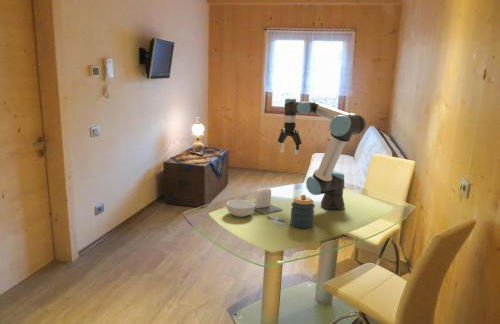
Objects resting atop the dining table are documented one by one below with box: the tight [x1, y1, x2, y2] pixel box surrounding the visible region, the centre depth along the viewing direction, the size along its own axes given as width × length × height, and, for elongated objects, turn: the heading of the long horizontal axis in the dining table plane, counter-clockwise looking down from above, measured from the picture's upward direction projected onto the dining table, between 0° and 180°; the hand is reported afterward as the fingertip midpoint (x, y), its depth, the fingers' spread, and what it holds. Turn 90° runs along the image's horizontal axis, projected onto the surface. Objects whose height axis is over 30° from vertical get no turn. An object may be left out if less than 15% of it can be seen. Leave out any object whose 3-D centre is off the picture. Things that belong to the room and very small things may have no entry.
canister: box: [289, 194, 315, 230], centre depth 215 cm, size 13×13×18 cm
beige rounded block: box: [254, 187, 272, 208], centre depth 242 cm, size 10×4×12 cm, turn 123°
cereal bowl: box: [226, 199, 255, 218], centre depth 228 cm, size 17×17×7 cm
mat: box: [253, 201, 283, 215], centre depth 243 cm, size 20×15×1 cm
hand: (289, 153), depth 260 cm, fingers open, 13 cm apart
